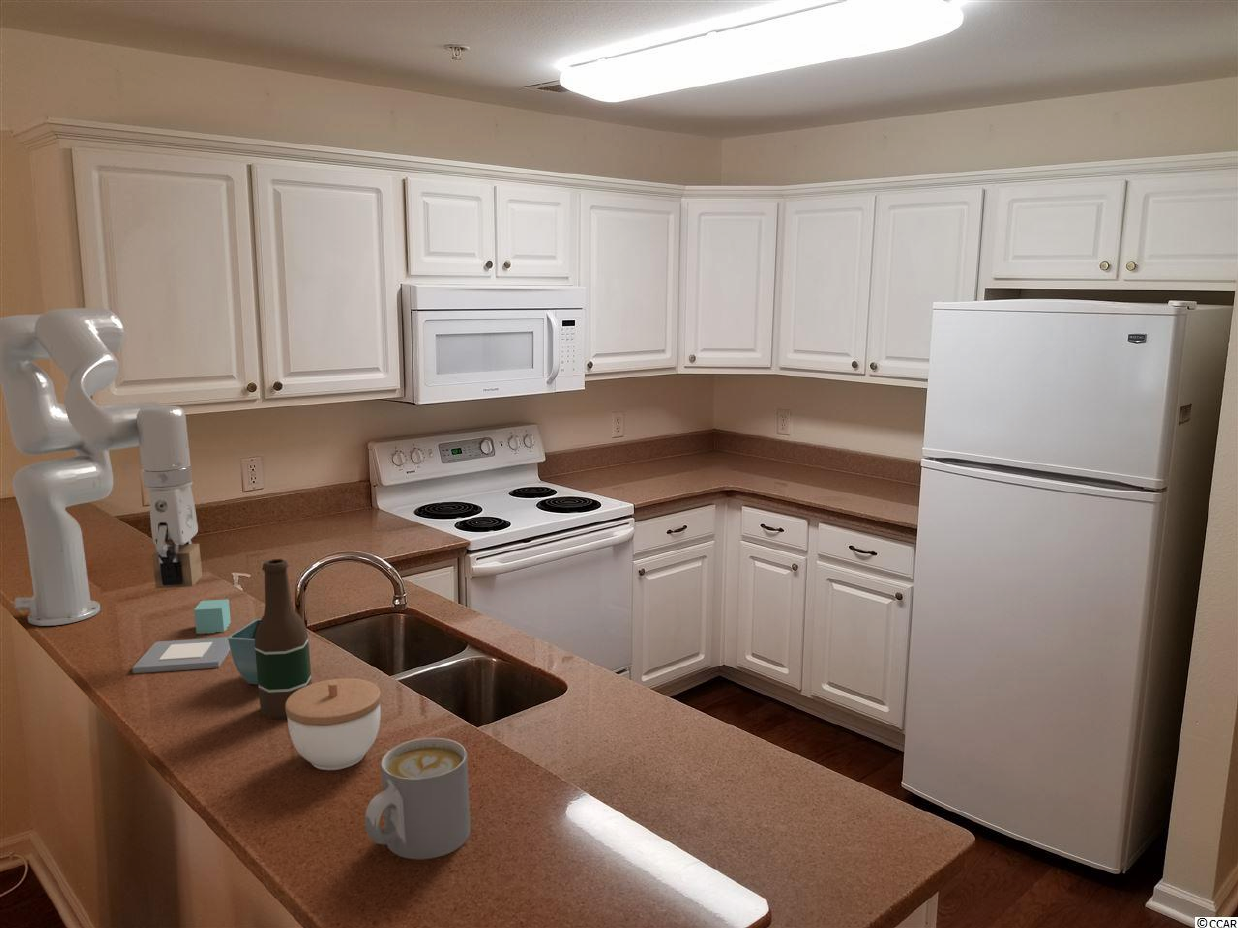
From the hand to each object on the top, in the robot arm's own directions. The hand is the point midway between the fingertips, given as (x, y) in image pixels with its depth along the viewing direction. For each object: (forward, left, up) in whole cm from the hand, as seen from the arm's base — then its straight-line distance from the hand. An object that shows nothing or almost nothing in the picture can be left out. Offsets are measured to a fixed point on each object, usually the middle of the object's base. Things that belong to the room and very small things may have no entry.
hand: (178, 577), depth 163 cm
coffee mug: (+44, -64, -15) cm, 79 cm away
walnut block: (0, 0, -1) cm, 1 cm away
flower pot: (+17, -13, -15) cm, 26 cm away
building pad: (0, 0, -15) cm, 15 cm away
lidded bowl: (+32, -42, -15) cm, 55 cm away
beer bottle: (+22, -25, -15) cm, 36 cm away
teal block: (+1, +14, -15) cm, 21 cm away
